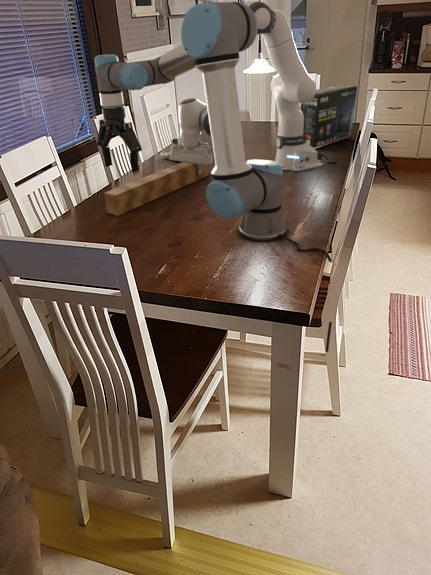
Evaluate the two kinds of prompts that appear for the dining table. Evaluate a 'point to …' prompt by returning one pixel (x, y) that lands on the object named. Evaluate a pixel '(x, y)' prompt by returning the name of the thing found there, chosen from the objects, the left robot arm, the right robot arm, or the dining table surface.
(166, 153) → the fossil
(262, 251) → the dining table surface
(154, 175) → the post
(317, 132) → the router box
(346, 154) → the dining table surface
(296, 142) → the right robot arm
